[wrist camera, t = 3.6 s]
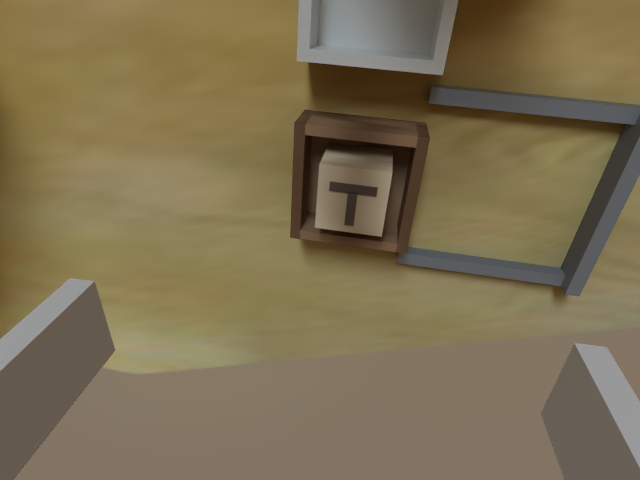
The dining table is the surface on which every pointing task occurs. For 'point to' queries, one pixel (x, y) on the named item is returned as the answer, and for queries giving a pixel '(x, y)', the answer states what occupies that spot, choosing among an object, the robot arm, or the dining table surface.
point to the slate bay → (604, 209)
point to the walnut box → (369, 132)
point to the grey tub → (377, 33)
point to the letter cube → (353, 188)
